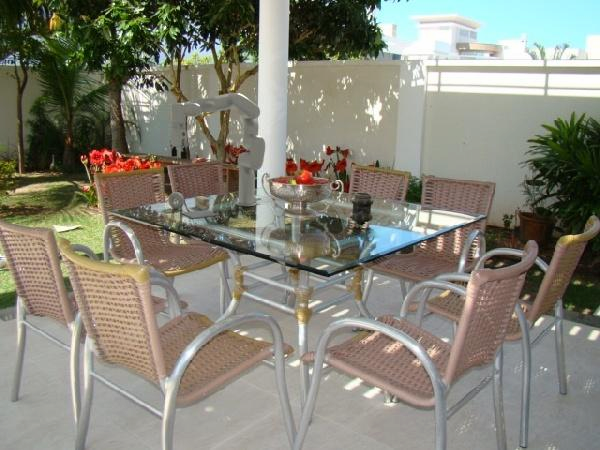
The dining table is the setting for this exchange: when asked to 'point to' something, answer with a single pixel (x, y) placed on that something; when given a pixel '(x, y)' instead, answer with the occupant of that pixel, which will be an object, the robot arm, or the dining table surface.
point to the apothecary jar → (361, 208)
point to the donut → (172, 202)
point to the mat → (199, 214)
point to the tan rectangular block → (202, 202)
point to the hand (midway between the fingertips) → (178, 157)
